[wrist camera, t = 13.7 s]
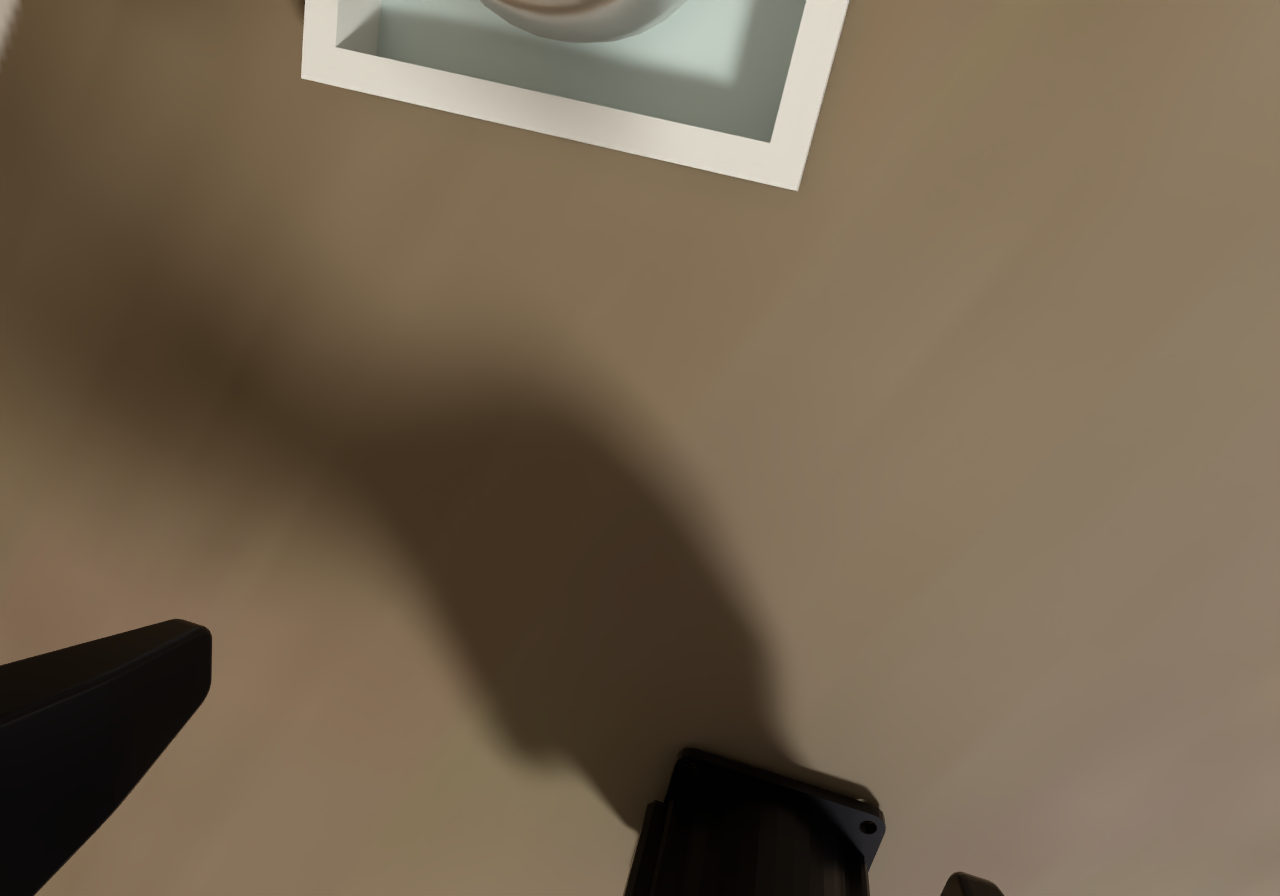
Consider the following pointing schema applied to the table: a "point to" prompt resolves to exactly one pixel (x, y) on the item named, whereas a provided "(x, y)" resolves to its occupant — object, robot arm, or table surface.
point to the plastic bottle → (584, 17)
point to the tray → (602, 75)
